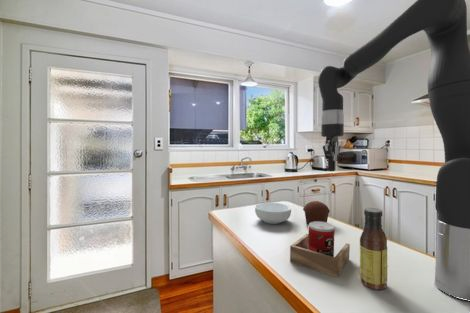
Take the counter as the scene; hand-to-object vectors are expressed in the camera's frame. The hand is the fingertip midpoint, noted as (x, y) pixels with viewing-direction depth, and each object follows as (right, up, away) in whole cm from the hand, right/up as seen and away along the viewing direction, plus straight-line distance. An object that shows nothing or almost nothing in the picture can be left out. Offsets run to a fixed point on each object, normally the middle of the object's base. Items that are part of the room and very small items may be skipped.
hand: (331, 170), depth 88 cm
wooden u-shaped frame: (-9, -27, -13) cm, 32 cm away
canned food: (-8, -28, -12) cm, 31 cm away
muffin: (+1, -26, +21) cm, 33 cm away
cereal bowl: (-18, -26, +25) cm, 40 cm away
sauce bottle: (0, -28, -25) cm, 38 cm away
